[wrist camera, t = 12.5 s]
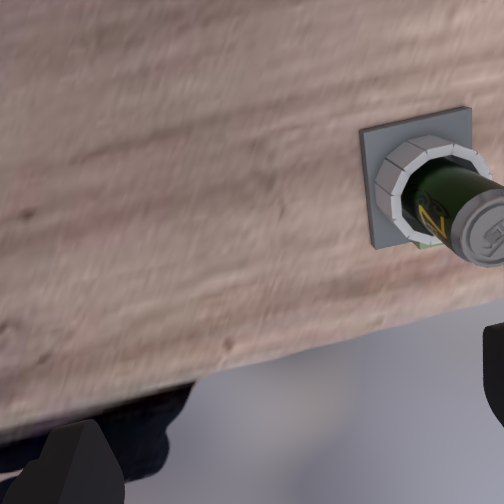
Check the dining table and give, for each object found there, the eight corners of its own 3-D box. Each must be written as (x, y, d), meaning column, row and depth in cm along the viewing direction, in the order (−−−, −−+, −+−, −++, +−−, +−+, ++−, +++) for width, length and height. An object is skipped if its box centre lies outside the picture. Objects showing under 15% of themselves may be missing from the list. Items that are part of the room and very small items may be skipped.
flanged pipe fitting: (359, 130, 39) (379, 142, 34) (464, 106, 39) (499, 114, 34) (371, 244, 44) (390, 268, 39) (465, 223, 44) (496, 245, 39)
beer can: (425, 138, 39) (510, 175, 28) (462, 179, 40) (555, 229, 30) (378, 185, 40) (441, 238, 29) (416, 222, 42) (488, 285, 31)
